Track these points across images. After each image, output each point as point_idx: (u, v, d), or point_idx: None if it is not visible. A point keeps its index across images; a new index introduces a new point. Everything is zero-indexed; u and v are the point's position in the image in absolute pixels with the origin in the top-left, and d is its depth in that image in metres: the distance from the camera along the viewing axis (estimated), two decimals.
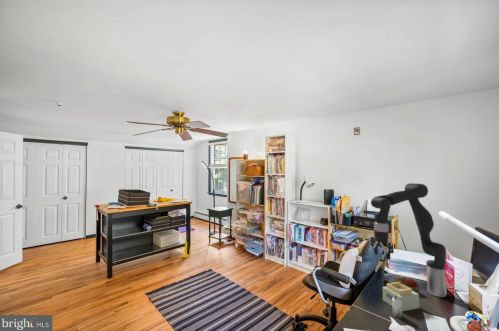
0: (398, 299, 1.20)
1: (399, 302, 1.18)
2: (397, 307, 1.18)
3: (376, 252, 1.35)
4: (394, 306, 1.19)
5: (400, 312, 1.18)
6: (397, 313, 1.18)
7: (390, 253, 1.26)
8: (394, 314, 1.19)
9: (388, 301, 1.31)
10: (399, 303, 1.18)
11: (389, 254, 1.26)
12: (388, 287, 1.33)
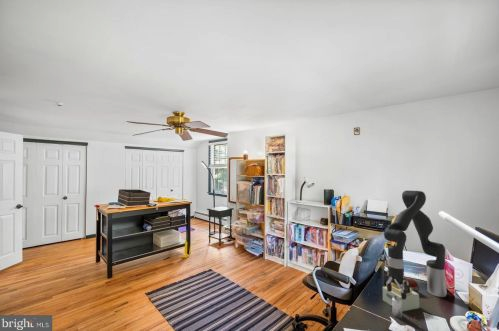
0: (398, 299, 1.20)
1: (399, 302, 1.18)
2: (397, 307, 1.18)
3: (390, 289, 1.24)
4: (394, 306, 1.19)
5: (400, 312, 1.18)
6: (397, 313, 1.18)
7: (406, 292, 1.16)
8: (394, 314, 1.19)
9: (388, 301, 1.31)
10: (399, 303, 1.18)
11: (405, 293, 1.16)
12: None
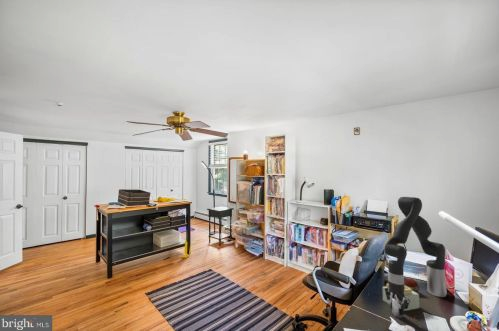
0: None
1: None
2: (397, 307, 1.18)
3: None
4: (394, 306, 1.19)
5: None
6: (397, 313, 1.18)
7: (404, 308, 1.17)
8: (394, 314, 1.19)
9: (388, 301, 1.31)
10: None
11: (402, 309, 1.17)
12: (388, 287, 1.33)
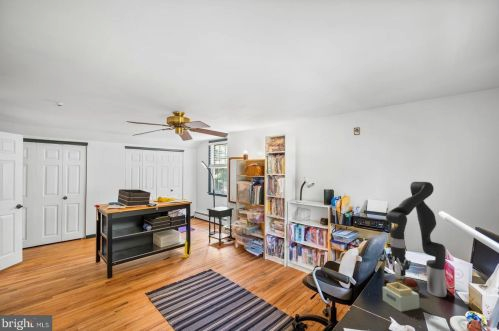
0: None
1: None
2: (399, 269, 1.28)
3: None
4: (396, 268, 1.29)
5: None
6: (399, 274, 1.28)
7: (405, 269, 1.27)
8: (396, 276, 1.29)
9: (388, 301, 1.31)
10: None
11: (404, 270, 1.27)
12: (388, 287, 1.33)
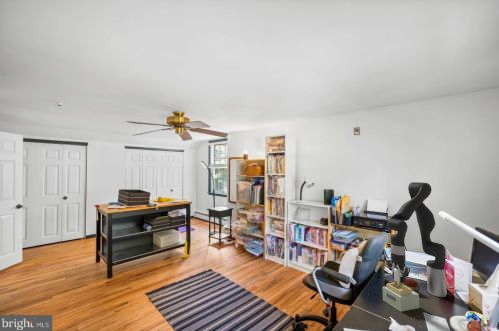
0: None
1: None
2: (398, 276, 1.29)
3: None
4: (396, 275, 1.31)
5: None
6: (398, 281, 1.29)
7: (404, 277, 1.28)
8: (396, 282, 1.30)
9: (388, 301, 1.31)
10: None
11: None
12: (388, 287, 1.33)
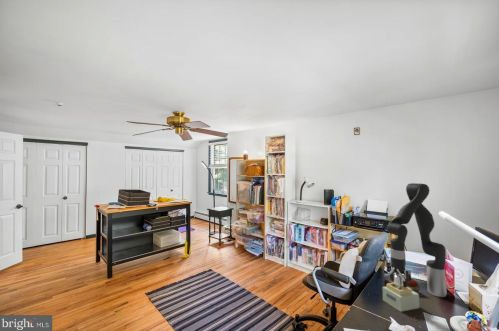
0: (399, 275, 1.31)
1: (400, 278, 1.29)
2: (399, 282, 1.29)
3: (392, 278, 1.35)
4: (396, 282, 1.30)
5: (401, 287, 1.29)
6: (399, 288, 1.29)
7: (407, 281, 1.26)
8: None
9: (388, 301, 1.31)
10: (400, 279, 1.29)
11: (406, 282, 1.26)
12: (388, 287, 1.33)
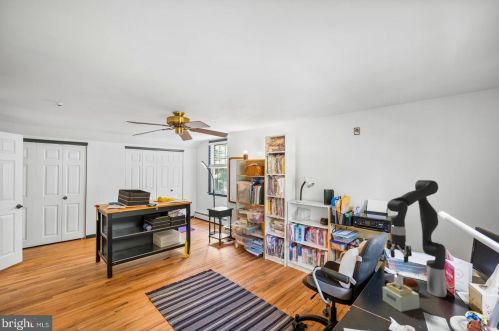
0: (400, 275, 1.31)
1: (401, 278, 1.29)
2: (399, 282, 1.29)
3: (393, 255, 1.36)
4: (396, 282, 1.30)
5: (401, 287, 1.29)
6: (399, 288, 1.29)
7: (408, 256, 1.27)
8: None
9: (388, 301, 1.31)
10: (401, 279, 1.29)
11: (407, 257, 1.27)
12: (388, 287, 1.33)
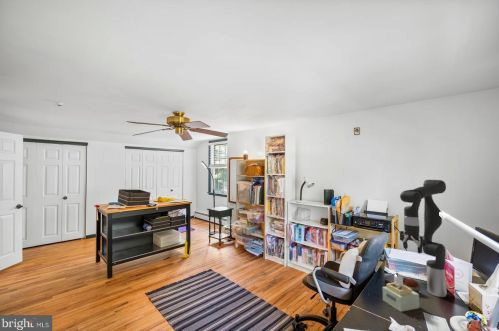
0: (400, 276, 1.31)
1: (401, 278, 1.29)
2: (399, 283, 1.29)
3: (406, 246, 1.35)
4: (396, 282, 1.30)
5: (401, 287, 1.29)
6: (399, 288, 1.29)
7: None
8: None
9: (388, 301, 1.31)
10: (401, 279, 1.29)
11: (421, 248, 1.27)
12: (388, 287, 1.33)
